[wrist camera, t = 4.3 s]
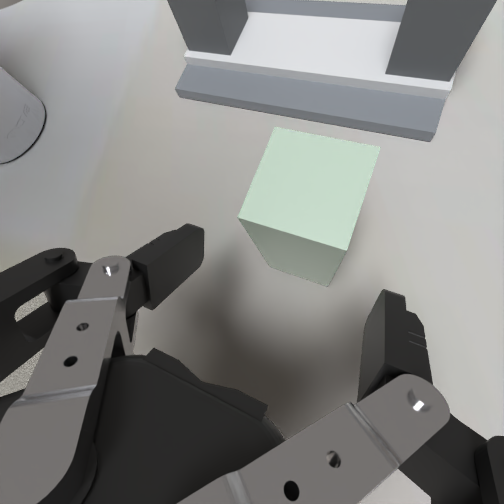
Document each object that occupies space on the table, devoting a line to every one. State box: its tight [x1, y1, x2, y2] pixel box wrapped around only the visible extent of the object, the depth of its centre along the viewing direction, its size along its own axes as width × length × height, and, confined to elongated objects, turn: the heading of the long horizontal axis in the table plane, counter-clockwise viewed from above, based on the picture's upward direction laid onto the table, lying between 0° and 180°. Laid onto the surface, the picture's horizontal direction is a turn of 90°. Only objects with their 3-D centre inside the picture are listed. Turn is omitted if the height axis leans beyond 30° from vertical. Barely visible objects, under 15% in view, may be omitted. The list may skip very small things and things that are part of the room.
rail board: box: [167, 0, 497, 142], centre depth 20 cm, size 23×12×10 cm, turn 68°
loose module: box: [237, 127, 381, 287], centre depth 16 cm, size 4×5×10 cm
